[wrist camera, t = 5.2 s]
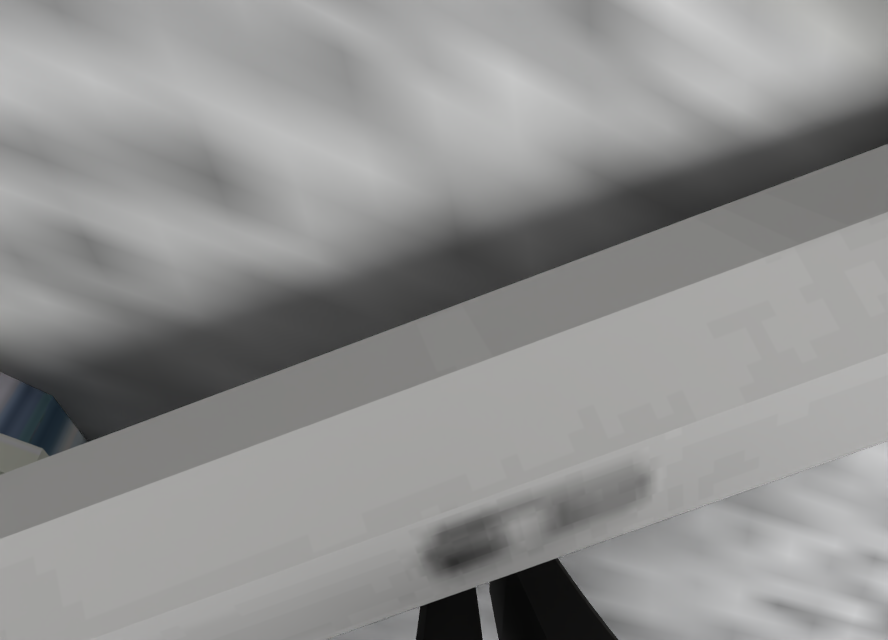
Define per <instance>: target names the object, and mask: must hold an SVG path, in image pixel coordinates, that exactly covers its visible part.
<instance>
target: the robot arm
mask: <svg viewBox="0 0 888 640" xmlns="http://www.w3.org/2000/svg"><path fill="white" fill-rule="evenodd" d="M489 590H490V595H491V601H492V606H493V612H494V617H495V622H496V628H497V633H498V638H499V640H618V639H617V638H616V636H615V635H614V634H613V633H612V631H611V630H610V629H609V628H608V626H607V625H606V624H605V622H604V621H603V620H602V618H601V617H600V616H599V614H598V613H597V612H596V611H595V609H594V608H593V607H592V605H591V604H590V603H589V601H588V600H587V599H586V597H585V596H584V595H583V593H582V592H581V591H580V589H579V588H578V587H577V585H576V584H575V582H574V581H573V580H572V578H571V577H570V575H569V574H568V573H567V571H566V570H565V568H564V567H563V565H562V564H561V562H560V561H559V560H558V558H556V559H553V560H550V561H547V562H544V563H541V564H539V565H536V566H533V567H530V568H527V569H525V570H522V571H519V572H516V573H513V574H510V575H508V576H505V577H502V578H499V579H496V580H493V581H491V582H490V588H489ZM416 640H483V639H482V632H481V624H480V617H479V609H478V602H477V594H476V587H474V588H471V589H468V590H465V591H462V592H460V593H457V594H454V595H451V596H448V597H445V598H443V599H440V600H437V601H434V602H431V603H428V604H426V605H423V606H420V613H419V621H418V628H417V636H416Z"/></svg>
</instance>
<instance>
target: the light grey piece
mask: <svg viewBox="0 0 888 640" xmlns="http://www.w3.org/2000/svg"><path fill="white" fill-rule="evenodd" d="M886 441H888V144H886V145H883V146H881V147H878V148H875V149H873V150H870V151H867V152H865V153H862V154H859V155H857V156H854V157H851V158H849V159H846V160H843V161H841V162H838V163H835V164H833V165H830V166H827V167H824V168H822V169H819V170H816V171H814V172H811V173H808V174H806V175H803V176H800V177H798V178H795V179H792V180H790V181H787V182H784V183H782V184H779V185H776V186H774V187H771V188H768V189H765V190H763V191H760V192H757V193H755V194H752V195H749V196H747V197H744V198H741V199H739V200H736V201H733V202H731V203H728V204H725V205H723V206H720V207H717V208H714V209H712V210H709V211H706V212H704V213H701V214H698V215H696V216H693V217H690V218H688V219H685V220H682V221H680V222H677V223H674V224H672V225H669V226H666V227H664V228H661V229H658V230H656V231H653V232H650V233H647V234H645V235H642V236H639V237H637V238H634V239H631V240H629V241H626V242H623V243H621V244H618V245H615V246H613V247H610V248H607V249H605V250H602V251H599V252H597V253H594V254H591V255H588V256H586V257H583V258H580V259H578V260H575V261H572V262H570V263H567V264H564V265H562V266H559V267H556V268H554V269H551V270H548V271H546V272H543V273H540V274H537V275H535V276H532V277H529V278H527V279H524V280H521V281H519V282H516V283H513V284H511V285H508V286H505V287H503V288H500V289H497V290H495V291H492V292H489V293H487V294H484V295H481V296H478V297H476V298H473V299H470V300H468V301H465V302H462V303H460V304H457V305H454V306H452V307H449V308H446V309H444V310H441V311H438V312H436V313H433V314H430V315H428V316H425V317H422V318H419V319H417V320H414V321H411V322H409V323H406V324H403V325H401V326H398V327H395V328H393V329H390V330H387V331H385V332H382V333H379V334H377V335H374V336H371V337H369V338H366V339H363V340H360V341H358V342H355V343H352V344H350V345H347V346H344V347H342V348H339V349H336V350H334V351H331V352H328V353H326V354H323V355H320V356H318V357H315V358H312V359H310V360H307V361H304V362H301V363H299V364H296V365H293V366H291V367H288V368H285V369H283V370H280V371H277V372H275V373H272V374H269V375H267V376H264V377H261V378H259V379H256V380H253V381H251V382H248V383H245V384H242V385H240V386H237V387H234V388H232V389H229V390H226V391H224V392H221V393H218V394H216V395H213V396H210V397H208V398H205V399H202V400H200V401H197V402H194V403H192V404H189V405H186V406H183V407H181V408H178V409H175V410H173V411H170V412H167V413H165V414H162V415H159V416H157V417H154V418H151V419H149V420H146V421H143V422H141V423H138V424H135V425H133V426H130V427H127V428H124V429H122V430H119V431H116V432H114V433H111V434H108V435H106V436H103V437H100V438H98V439H95V440H92V441H90V442H87V441H86V440H85V438H84V437H83V436H82V434H81V433H80V432H79V430H78V429H77V428H76V426H75V425H74V424H73V422H72V421H71V420H70V418H69V417H68V416H67V414H66V413H65V412H64V410H63V409H62V408H61V406H60V405H59V404H58V402H57V401H56V400H55V398H54V397H53V396H52V395H49V394H47V393H45V392H43V391H41V390H38V389H36V388H34V387H32V386H30V385H27V384H25V383H23V382H21V381H19V380H17V379H14V378H12V377H10V376H8V375H6V374H3V373H1V372H0V640H327V639H330V638H332V637H335V636H338V635H341V634H344V633H346V632H349V631H352V630H355V629H358V628H361V627H363V626H366V625H369V624H372V623H375V622H378V621H380V620H383V619H386V618H389V617H392V616H395V615H397V614H400V613H403V612H406V611H409V610H411V609H414V608H417V607H420V606H423V605H426V604H428V603H431V602H434V601H437V600H440V599H443V598H445V597H448V596H451V595H454V594H457V593H460V592H462V591H465V590H468V589H471V588H474V587H476V586H479V585H482V584H485V583H488V582H491V581H493V580H496V579H499V578H502V577H505V576H508V575H510V574H513V573H516V572H519V571H522V570H525V569H527V568H530V567H533V566H536V565H539V564H541V563H544V562H547V561H550V560H553V559H556V558H558V557H561V556H564V555H567V554H570V553H573V552H575V551H578V550H581V549H584V548H587V547H590V546H592V545H595V544H598V543H601V542H604V541H606V540H609V539H612V538H615V537H618V536H621V535H623V534H626V533H629V532H632V531H635V530H638V529H640V528H643V527H646V526H649V525H652V524H655V523H657V522H660V521H663V520H666V519H669V518H671V517H674V516H677V515H680V514H683V513H686V512H688V511H691V510H694V509H697V508H700V507H703V506H705V505H708V504H711V503H714V502H717V501H720V500H722V499H725V498H728V497H731V496H734V495H736V494H739V493H742V492H745V491H748V490H751V489H753V488H756V487H759V486H762V485H765V484H768V483H770V482H773V481H776V480H779V479H782V478H785V477H787V476H790V475H793V474H796V473H799V472H801V471H804V470H807V469H810V468H813V467H816V466H818V465H821V464H824V463H827V462H830V461H833V460H835V459H838V458H841V457H844V456H847V455H850V454H852V453H855V452H858V451H861V450H864V449H866V448H869V447H872V446H875V445H878V444H881V443H883V442H886Z"/></svg>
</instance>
